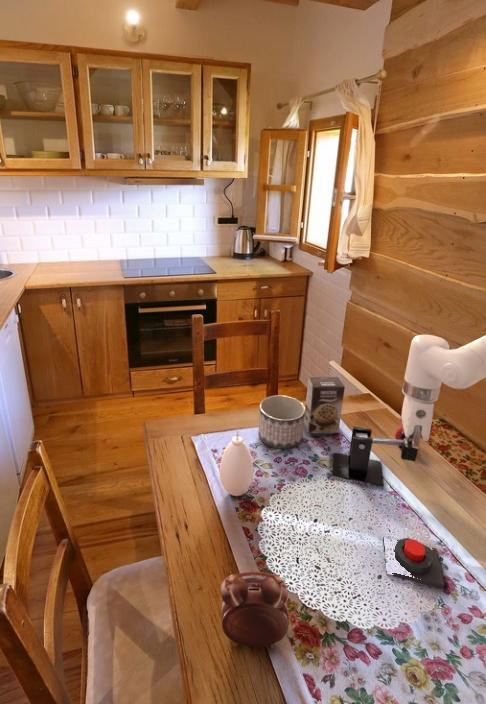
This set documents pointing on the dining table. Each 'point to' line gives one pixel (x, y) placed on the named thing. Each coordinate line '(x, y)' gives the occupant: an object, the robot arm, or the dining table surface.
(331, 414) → the cookie box
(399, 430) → the onion
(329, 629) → the dining table surface
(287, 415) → the planter
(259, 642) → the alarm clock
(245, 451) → the pale pink tall ovoid
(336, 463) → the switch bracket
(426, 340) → the robot arm
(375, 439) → the switch lever
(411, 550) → the red button
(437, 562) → the button box
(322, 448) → the dining table surface
